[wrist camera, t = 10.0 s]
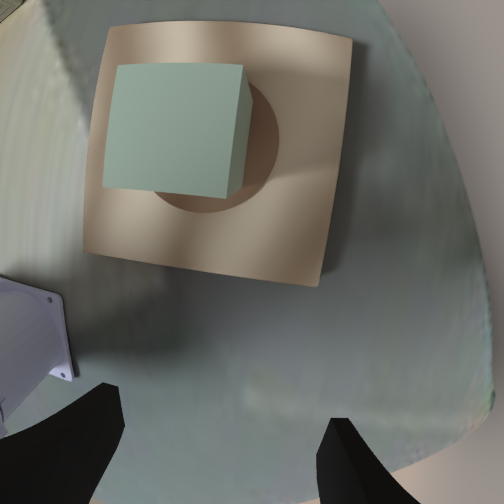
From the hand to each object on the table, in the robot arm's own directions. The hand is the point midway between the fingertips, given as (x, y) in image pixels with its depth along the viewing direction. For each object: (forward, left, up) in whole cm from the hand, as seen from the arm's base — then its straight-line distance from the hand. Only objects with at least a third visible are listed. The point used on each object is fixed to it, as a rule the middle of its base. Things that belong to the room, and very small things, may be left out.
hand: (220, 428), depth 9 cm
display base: (-3, +9, -10) cm, 14 cm away
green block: (-3, +9, -9) cm, 13 cm away
